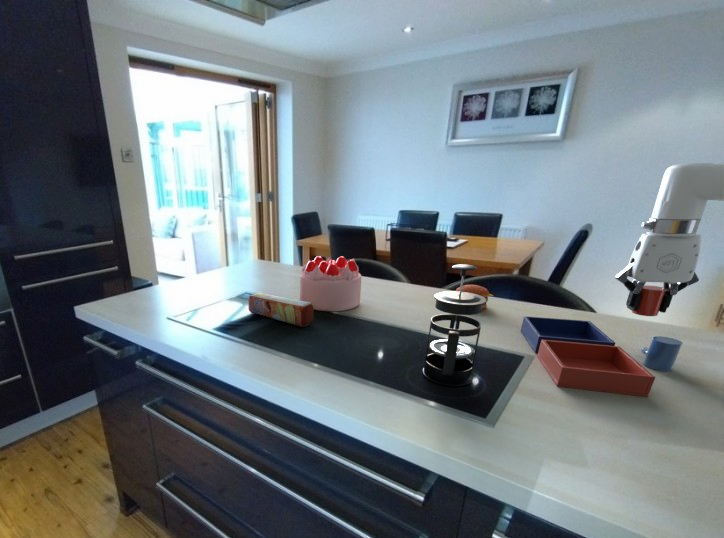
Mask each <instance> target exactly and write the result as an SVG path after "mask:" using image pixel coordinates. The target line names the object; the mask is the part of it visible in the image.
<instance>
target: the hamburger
mask: <svg viewBox="0 0 724 538" xmlns="http://www.w3.org/2000/svg"><path fill="white" fill-rule="evenodd" d="M455 291H460V286H459V287H457V288H456V290H455ZM462 292H468V293H473V294H477V295H480V296H482V297H484V298H485V299H486V303H485V304H483V305H482V310H481V311H484V310H485V309H487V306H488V305H487V302H488V301H489V297H495V295H493V294H491V293H490V292H489V290H488V288H486V287H484V286H481V285H478V284H463V286H462Z"/></svg>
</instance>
